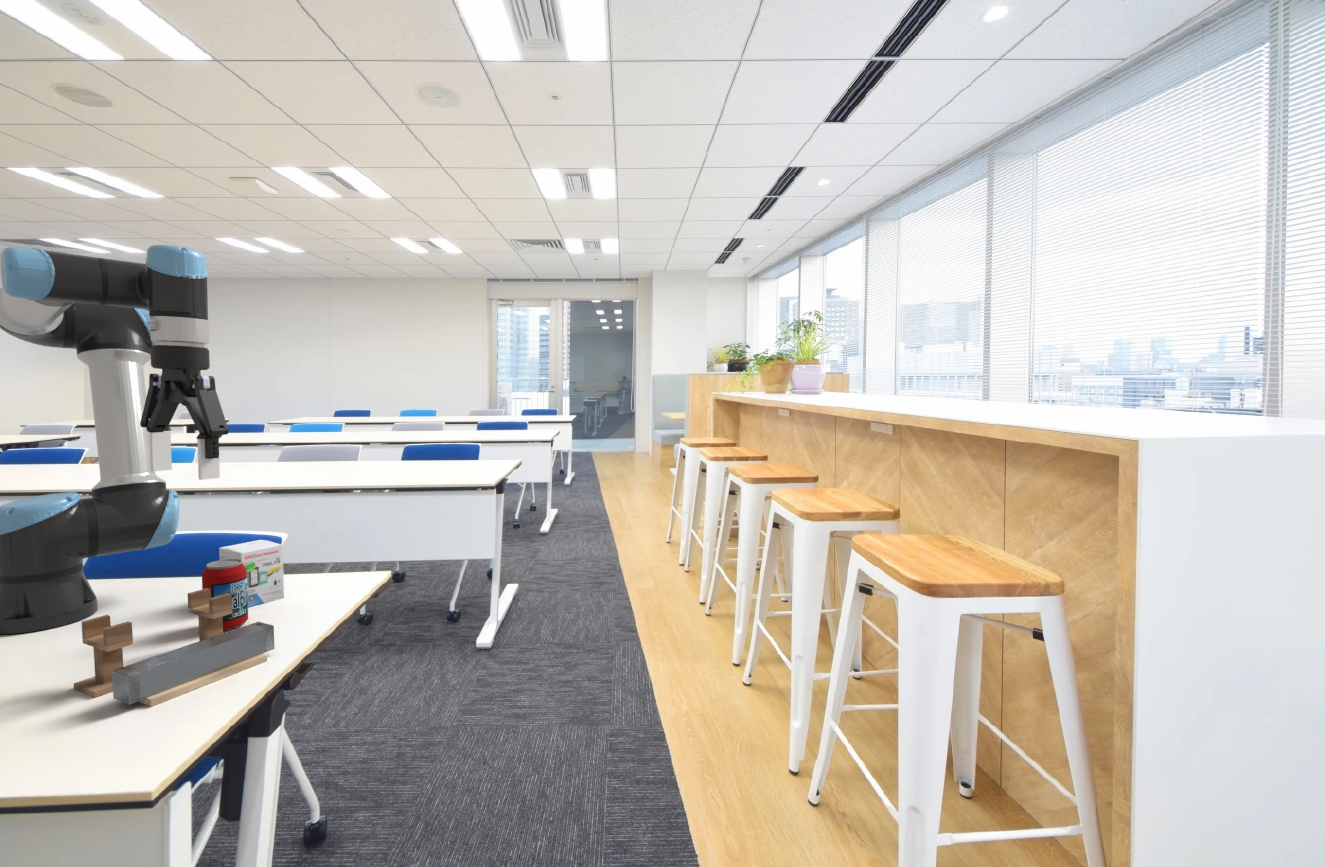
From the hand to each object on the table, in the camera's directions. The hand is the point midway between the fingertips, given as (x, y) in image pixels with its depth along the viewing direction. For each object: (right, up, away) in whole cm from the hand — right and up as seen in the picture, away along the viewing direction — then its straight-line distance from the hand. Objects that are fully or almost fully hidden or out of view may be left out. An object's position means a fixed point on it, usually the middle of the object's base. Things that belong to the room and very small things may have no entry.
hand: (184, 474), depth 100 cm
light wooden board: (+9, -31, -7) cm, 33 cm away
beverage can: (-2, -29, +13) cm, 32 cm away
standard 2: (+2, -30, +3) cm, 30 cm away
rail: (+9, -30, -8) cm, 32 cm away
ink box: (-7, -28, +27) cm, 39 cm away
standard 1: (-3, -31, -10) cm, 32 cm away
